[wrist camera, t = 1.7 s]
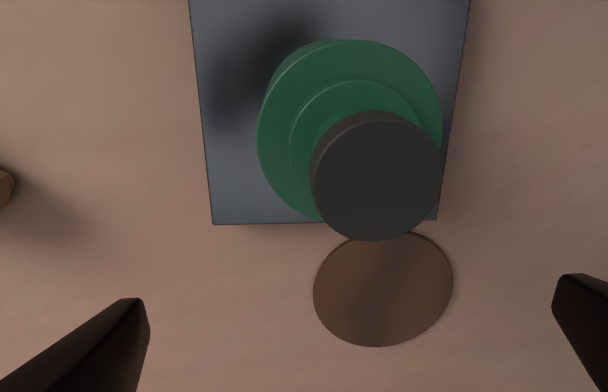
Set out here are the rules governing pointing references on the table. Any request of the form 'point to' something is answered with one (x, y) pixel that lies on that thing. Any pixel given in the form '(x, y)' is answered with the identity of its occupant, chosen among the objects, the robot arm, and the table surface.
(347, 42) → the green bottle
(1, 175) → the wooden block set
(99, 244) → the table surface
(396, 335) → the walnut coaster
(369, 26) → the black flat square slab
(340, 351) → the table surface
